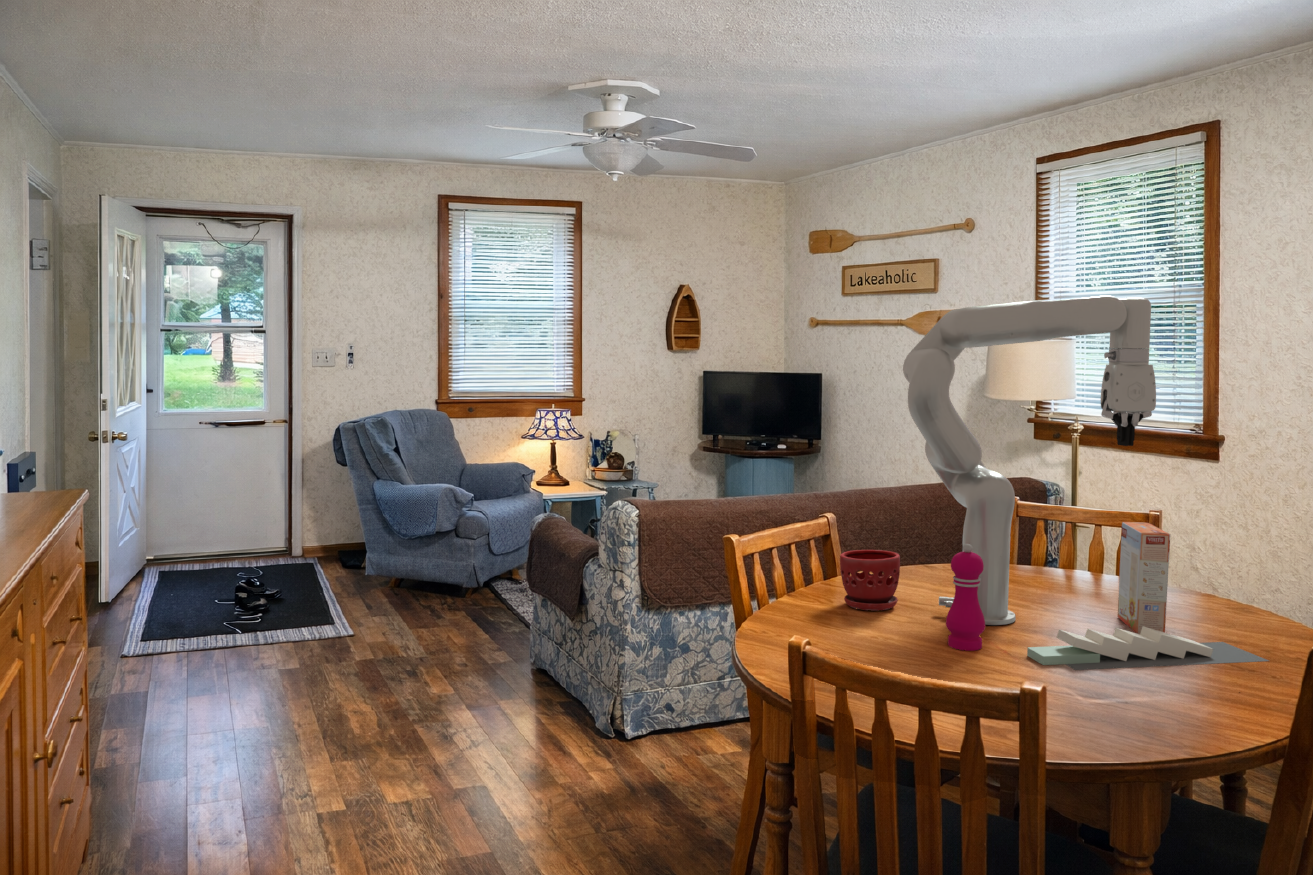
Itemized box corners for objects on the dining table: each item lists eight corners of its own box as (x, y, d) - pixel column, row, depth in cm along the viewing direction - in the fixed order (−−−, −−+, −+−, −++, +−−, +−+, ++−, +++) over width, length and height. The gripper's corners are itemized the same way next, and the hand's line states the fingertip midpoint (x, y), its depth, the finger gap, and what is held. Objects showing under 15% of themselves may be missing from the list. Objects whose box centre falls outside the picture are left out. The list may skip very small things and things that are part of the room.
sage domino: (1099, 662, 177) (1042, 665, 175) (1082, 653, 182) (1027, 655, 181) (1100, 653, 177) (1043, 656, 175) (1082, 644, 182) (1027, 647, 181)
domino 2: (1155, 660, 178) (1102, 645, 177) (1136, 650, 184) (1084, 636, 182) (1157, 651, 178) (1104, 636, 177) (1138, 642, 184) (1087, 628, 182)
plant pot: (897, 600, 224) (898, 548, 223) (900, 615, 211) (902, 560, 210) (839, 597, 226) (840, 546, 225) (839, 612, 213) (840, 558, 212)
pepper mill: (964, 653, 184) (967, 548, 182) (937, 643, 190) (939, 542, 188) (992, 648, 187) (996, 545, 185) (964, 638, 193) (967, 539, 192)
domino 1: (1126, 661, 178) (1072, 646, 176) (1108, 652, 183) (1056, 637, 181) (1128, 652, 178) (1075, 637, 176) (1110, 644, 183) (1059, 629, 181)
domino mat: (1075, 672, 173) (1075, 669, 173) (1039, 652, 185) (1039, 649, 185) (1269, 663, 178) (1269, 660, 178) (1222, 644, 190) (1223, 641, 190)
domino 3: (1183, 658, 179) (1131, 644, 177) (1164, 649, 185) (1113, 635, 183) (1186, 650, 179) (1133, 635, 177) (1166, 641, 184) (1115, 627, 183)
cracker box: (1167, 637, 195) (1172, 533, 193) (1134, 635, 196) (1139, 532, 194) (1146, 618, 208) (1151, 521, 207) (1116, 617, 210) (1120, 520, 208)
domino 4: (1210, 657, 180) (1158, 642, 178) (1190, 648, 185) (1139, 634, 184) (1213, 648, 180) (1161, 634, 178) (1193, 640, 185) (1142, 626, 184)
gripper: (1106, 357, 199) (1102, 447, 201) (1173, 357, 201) (1169, 446, 203) (1085, 357, 207) (1082, 444, 208) (1150, 357, 209) (1146, 443, 210)
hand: (1125, 445), depth 206 cm, fingers closed
